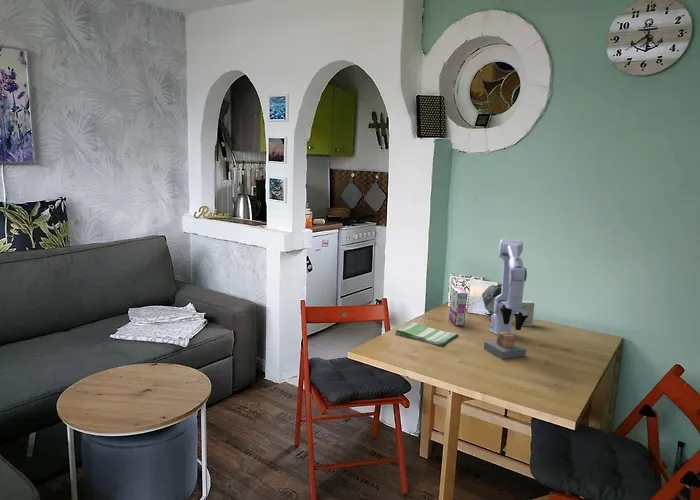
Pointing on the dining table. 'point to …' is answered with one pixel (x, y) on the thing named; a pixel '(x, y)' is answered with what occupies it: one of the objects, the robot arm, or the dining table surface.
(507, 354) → the slate block
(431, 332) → the dish towel
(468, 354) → the dining table surface
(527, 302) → the skincare box
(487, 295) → the gray rock
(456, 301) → the candy bar box
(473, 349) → the dining table surface
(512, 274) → the robot arm
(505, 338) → the terracotta cube
